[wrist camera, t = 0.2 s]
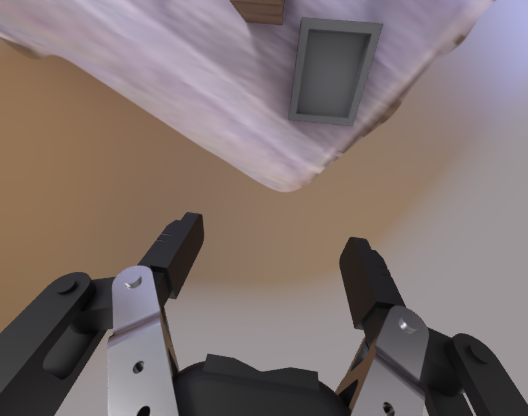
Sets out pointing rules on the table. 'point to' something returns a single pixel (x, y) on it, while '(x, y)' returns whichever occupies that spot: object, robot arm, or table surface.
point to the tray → (331, 69)
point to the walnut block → (260, 10)
